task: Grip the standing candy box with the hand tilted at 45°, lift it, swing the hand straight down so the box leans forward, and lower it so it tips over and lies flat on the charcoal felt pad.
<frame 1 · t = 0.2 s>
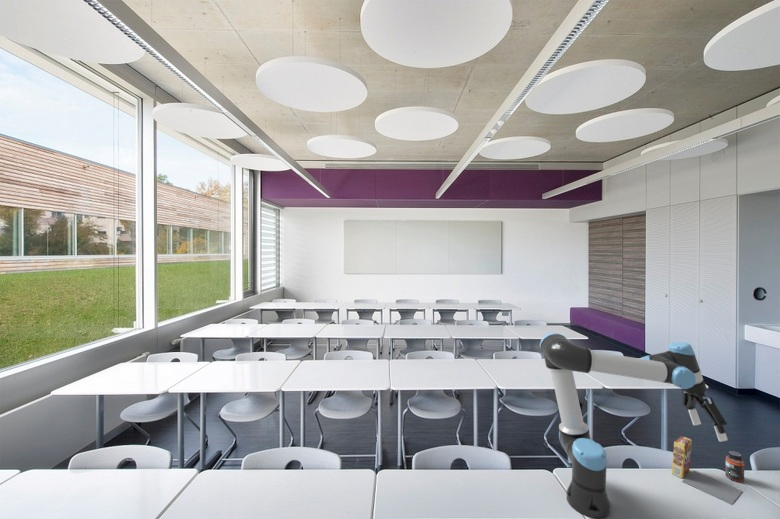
hand: (709, 432, 141), 28 cm above the table, tool tilted 20°, fingers open, 13 cm apart
candy box: (681, 473, 158), on the table
supplement bottle: (734, 478, 155), on the table
felt pad: (711, 486, 149), on the table
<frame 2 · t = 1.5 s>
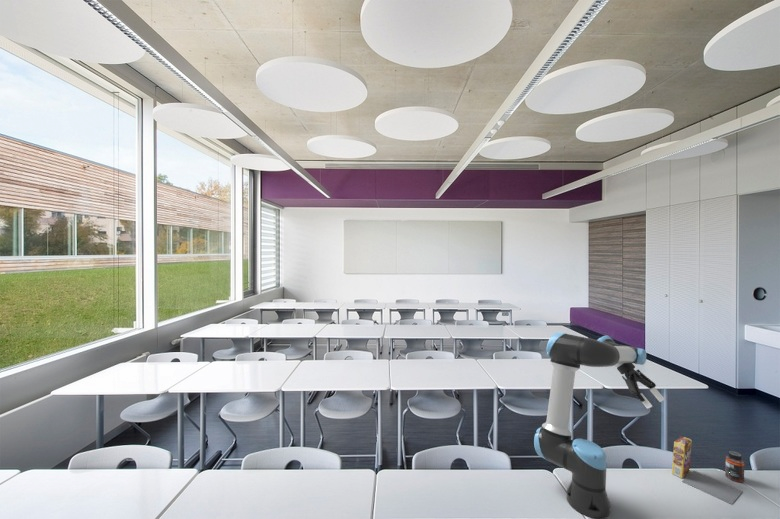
hand: (656, 404, 166), 28 cm above the table, tool tilted 45°, fingers open, 13 cm apart
nothing on the table moved.
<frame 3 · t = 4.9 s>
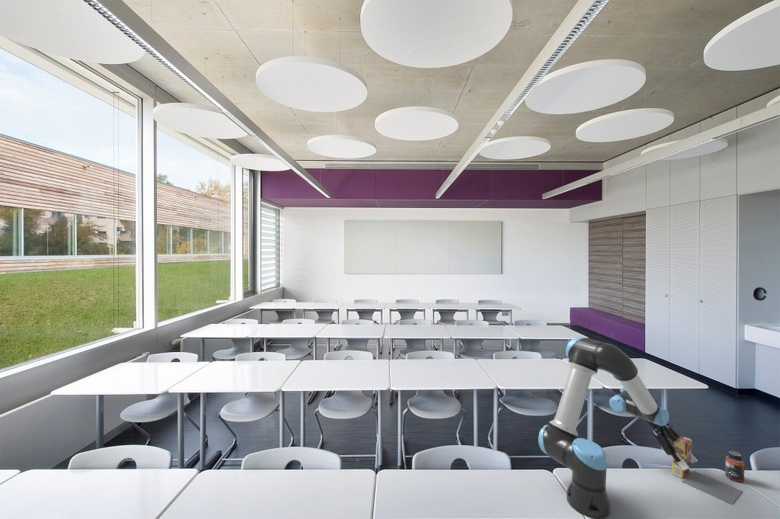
hand: (690, 465, 155), 5 cm above the table, tool tilted 45°, fingers closed on candy box, 9 cm apart
candy box: (681, 473, 158), on the table, touching gripper
everything else where it was.
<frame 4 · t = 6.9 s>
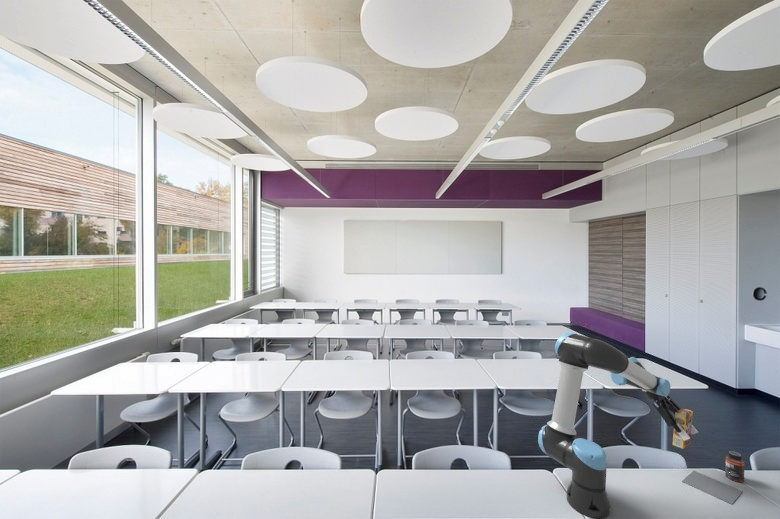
hand: (691, 436, 155), 18 cm above the table, tool tilted 45°, fingers closed on candy box, 9 cm apart
candy box: (681, 445, 158), point 13 cm above the table, touching gripper
everything else where it was.
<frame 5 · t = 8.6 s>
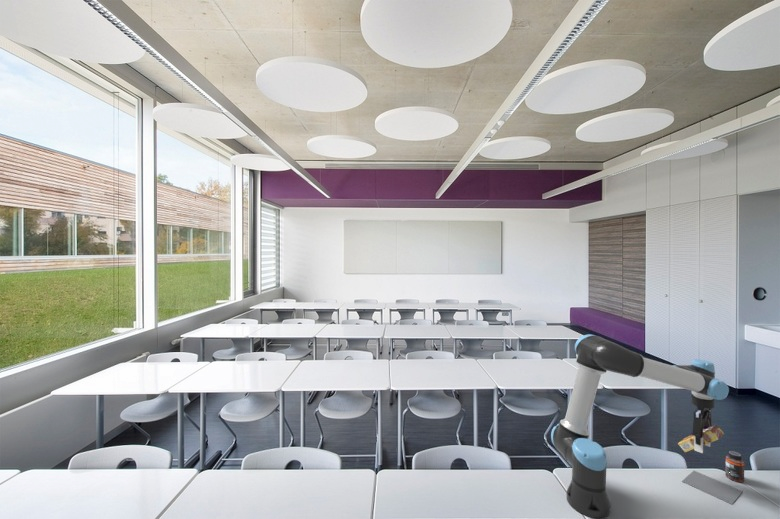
hand: (702, 448, 152), 15 cm above the table, tool pointing down, fingers closed on candy box, 9 cm apart
candy box: (684, 445, 157), point 13 cm above the table, touching gripper
everything else where it was.
when the fingers open (5 cm above the table, at t = 11.8 s): candy box drops 1 cm, resting on felt pad.
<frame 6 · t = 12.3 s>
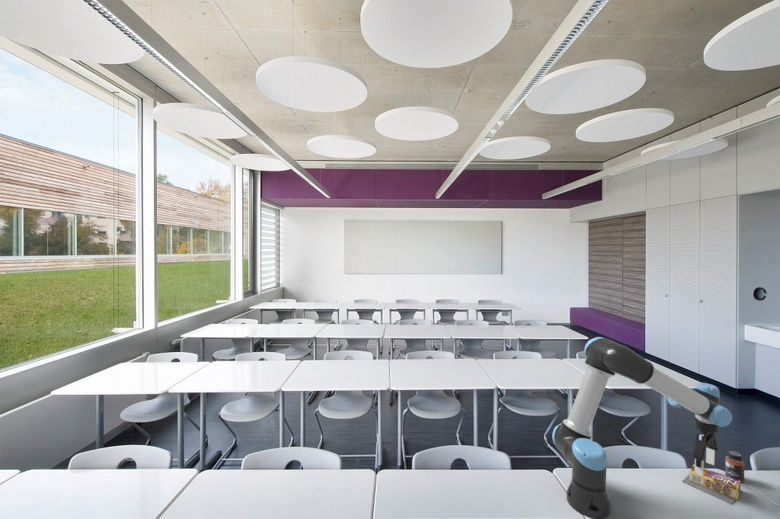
hand: (704, 468, 151), 6 cm above the table, tool pointing down, fingers open, 13 cm apart
candy box: (690, 472, 155), point 2 cm above the table, touching felt pad
everything else where it was.
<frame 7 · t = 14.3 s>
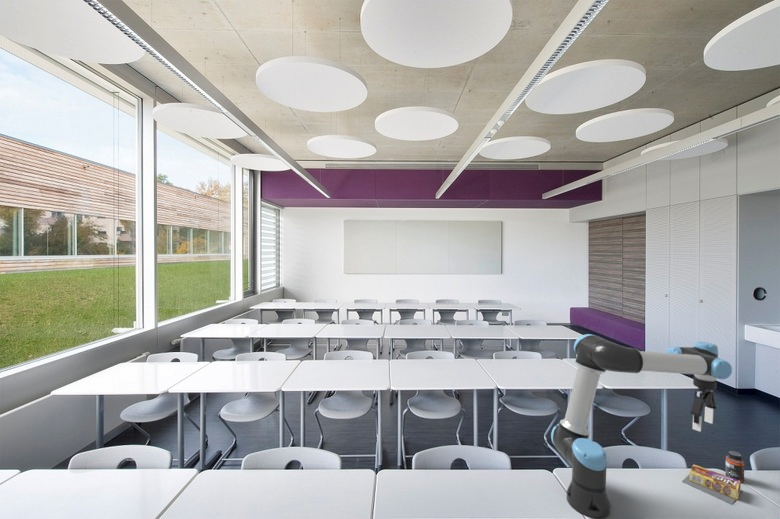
hand: (702, 426, 152), 24 cm above the table, tool pointing down, fingers open, 13 cm apart
nothing on the table moved.
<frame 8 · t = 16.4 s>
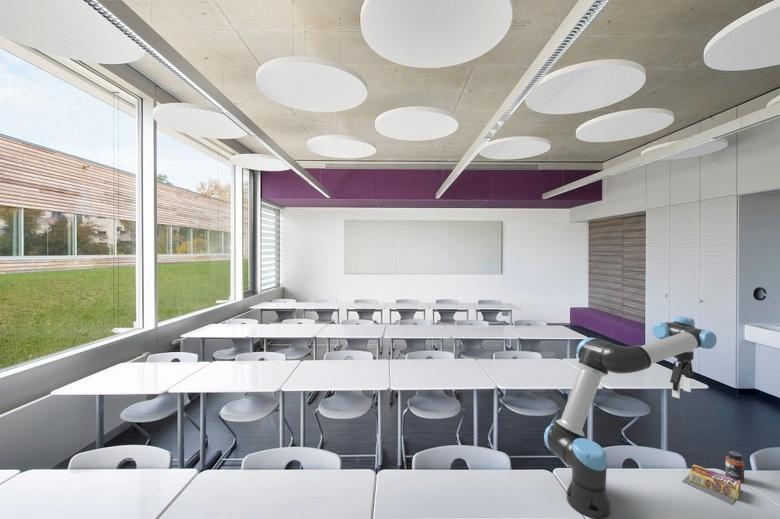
hand: (681, 394, 166), 33 cm above the table, tool pointing down, fingers open, 13 cm apart
nothing on the table moved.
at the end: candy box tilted 89°; candy box touching felt pad; the gripper is holding nothing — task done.
